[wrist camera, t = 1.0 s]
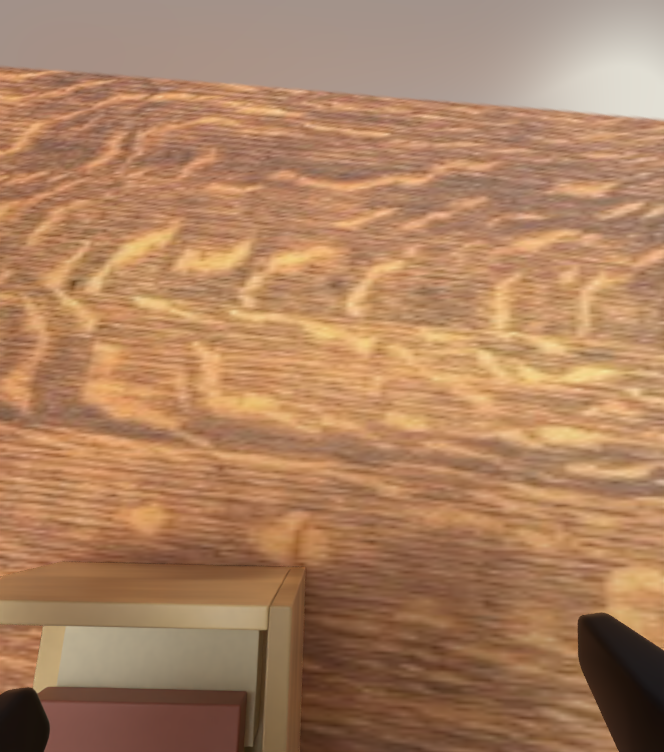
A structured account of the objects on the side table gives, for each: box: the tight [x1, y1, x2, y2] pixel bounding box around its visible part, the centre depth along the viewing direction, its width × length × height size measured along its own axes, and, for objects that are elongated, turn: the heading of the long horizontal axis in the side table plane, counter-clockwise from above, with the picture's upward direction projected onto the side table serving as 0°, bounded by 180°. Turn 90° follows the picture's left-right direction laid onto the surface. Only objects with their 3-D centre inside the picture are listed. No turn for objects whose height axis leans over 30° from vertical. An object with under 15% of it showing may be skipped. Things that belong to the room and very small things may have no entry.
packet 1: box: [56, 626, 264, 747], centre depth 17 cm, size 7×4×1 cm, turn 89°
